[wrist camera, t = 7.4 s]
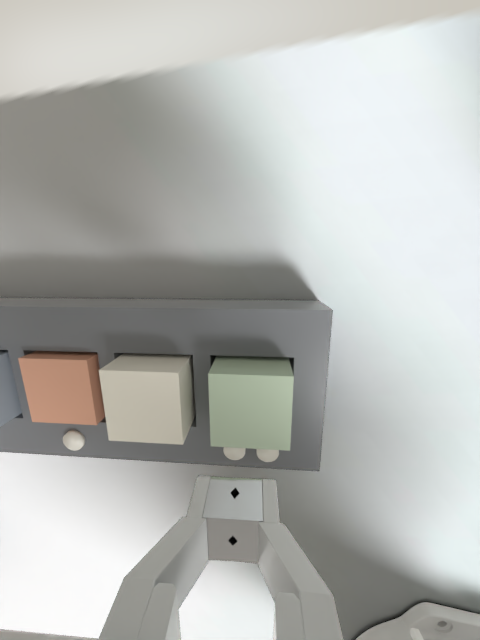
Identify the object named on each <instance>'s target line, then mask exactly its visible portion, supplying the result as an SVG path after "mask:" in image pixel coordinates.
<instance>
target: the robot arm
mask: <svg viewBox="0 0 480 640" xmlns="http://www.w3.org/2000/svg"><path fill="white" fill-rule="evenodd" d="M208 560H222V561H238V562H247V563H257V564H258V566H259V569H260V571H261V573H262V575H263V578H264V580H265V582H266V584H267V586H268V589H269V591H270V593H271V595H272V598H273V600H274V602H275V607H274V629H273V640H343V636H342V631H341V627H340V622H339V618H338V613H337V609H336V604H335V600H334V596H333V594H332V593H331V591H330V590H329V588H328V587H327V585H326V584H325V582H324V581H323V579H322V578H321V577H320V575H319V574H318V572H317V571H316V569H315V568H314V566H313V565H312V563H311V562H310V560H309V559H308V558H307V556H306V555H305V553H304V552H303V550H302V549H301V547H300V546H299V544H298V543H297V542H296V540H295V539H294V537H293V536H292V534H291V533H290V531H289V530H288V528H287V527H286V526H285V524H284V523H280V519H279V507H278V496H277V484H276V480H275V479H255V478H229V477H216V476H201V475H199V476H198V477H197V479H196V483H195V487H194V490H193V494H192V498H191V501H190V505H189V509H188V512H187V516H186V517H182V518H181V519H180V520H179V521H178V522H177V523H176V524H175V525H174V526H173V527H172V528H171V529H170V530H169V531H168V532H167V533H166V534H165V535H164V537H163V538H162V539H161V540H160V541H159V542H158V543H157V544H156V545H155V546H154V547H153V548H152V549H151V550H150V551H149V552H148V553H147V554H146V555H145V556H144V557H143V558H142V560H141V561H140V562H139V563H138V564H137V565H136V566H135V567H134V568H133V569H132V570H131V571H130V572H129V573H128V574H127V575H126V576H125V577H124V579H123V582H122V584H121V586H120V589H119V591H118V593H117V596H116V598H115V601H114V603H113V605H112V608H111V610H110V613H109V615H108V617H107V620H106V622H105V625H104V627H103V629H102V632H101V634H100V637H99V639H97V638H86V637H76V636H66V635H56V634H45V633H35V632H25V631H15V630H4V629H0V640H181V632H180V621H179V611H178V609H179V608H180V606H181V605H182V603H183V601H184V600H185V598H186V597H187V595H188V594H189V592H190V590H191V589H192V587H193V586H194V584H195V582H196V581H197V579H198V578H199V576H200V575H201V573H202V571H203V570H204V568H205V567H206V565H207V563H208ZM356 640H480V614H476V613H472V612H467V611H463V610H459V609H455V608H451V607H447V606H442V605H438V604H434V603H429V602H423V603H420V604H417V605H415V606H414V607H412V608H411V609H409V610H408V611H407V612H405V613H404V614H403V615H402V616H400V617H398V618H396V619H393V620H390V621H387V622H384V623H381V624H379V625H376V626H374V627H372V628H370V629H368V630H367V631H365V632H364V633H362V634H361V635H360V636H359V637H358V638H357V639H356Z"/></svg>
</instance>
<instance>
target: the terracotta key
mask: <svg viewBox="0 0 480 640" xmlns="http://www.w3.org/2000/svg"><path fill="white" fill-rule="evenodd" d="M18 360H19V365H20V369H21V374H22V378H23V383H24V387H25V392H26V396H27V401H28V405H29V410H30V414H31V419H32V422H43V423H63V424H82V425H97V424H98V423H99V422H100V421H101V420H102V419H103V418H104V417H105V411H104V404H103V397H102V390H101V383H100V376H99V370H100V367H99V360H98V353H97V352H68V351H35V352H32V353H30V354H27V355H25V356H22V357H20V358H18Z"/></svg>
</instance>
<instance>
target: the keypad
mask: <svg viewBox="0 0 480 640" xmlns="http://www.w3.org/2000/svg"><path fill="white" fill-rule="evenodd" d="M332 313H333V310H332V309H330V308H329V307H328V306H326V305H325V304H323V303H322V302H320V301H319V300H237V299H122V298H8V297H0V350H8V353H9V358H10V362H11V366H12V371H13V375H14V380H15V384H16V388H17V393H18V397H19V401H20V406H21V410H22V413H21V414H19V415H18V416H16V417H15V418H13V419H12V420H10V421H8V422H7V423H5V424H4V425H2V426H1V427H0V452H13V453H29V454H45V455H61V456H78V457H94V458H110V459H126V460H143V461H159V462H175V463H191V464H208V465H224V466H240V467H256V468H272V469H289V470H305V471H319V469H320V457H321V445H322V433H323V421H324V409H325V397H326V385H327V373H328V361H329V349H330V337H331V325H332ZM35 351H68V352H97V353H98V360H99V367H100V369H101V368H103V367H104V366H106V365H107V364H109V363H110V362H112V361H113V360H115V359H116V358H117V357H119V356H120V355H122V354H123V353H144V354H181V355H193V369H194V389H195V410H196V415H195V418H194V420H193V422H192V425H191V427H190V429H189V432H188V434H187V437H186V439H185V441H184V444H183V445H179V444H161V443H143V442H125V441H109V439H108V432H107V425H106V418H105V417H104V418H103V419H102V420H101V421H100V422H99V423H98V424H97V425H82V424H63V423H43V422H32V419H31V414H30V410H29V405H28V401H27V396H26V392H25V387H24V383H23V378H22V374H21V369H20V365H19V360H18V358H20V357H22V356H25V355H27V354H30V353H32V352H35ZM217 355H219V356H256V357H288V358H289V361H290V365H291V368H292V372H293V375H294V383H293V403H292V423H291V443H290V451H287V450H269V449H251V448H233V447H215V446H211V441H210V412H209V384H208V373H209V371H210V369H211V367H212V364H213V362H214V360H215V358H216V356H217Z"/></svg>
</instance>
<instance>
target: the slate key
mask: <svg viewBox="0 0 480 640" xmlns="http://www.w3.org/2000/svg"><path fill="white" fill-rule="evenodd" d="M21 413H22V410H21V406H20V401H19V397H18V393H17V388H16V384H15V380H14V375H13V371H12V366H11V362H10V358H9V353H8V350H0V427H1V426H2V425H4V424H5V423H7V422H8V421H10V420H12V419H13V418H15V417H16V416H18V415H19V414H21Z"/></svg>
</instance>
